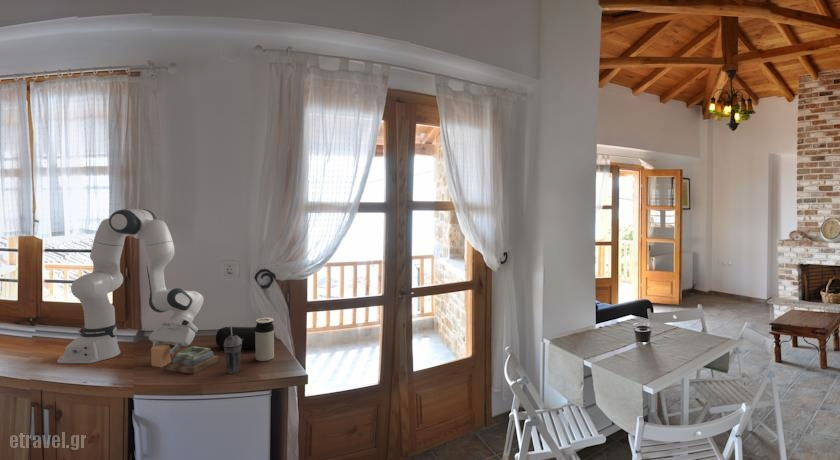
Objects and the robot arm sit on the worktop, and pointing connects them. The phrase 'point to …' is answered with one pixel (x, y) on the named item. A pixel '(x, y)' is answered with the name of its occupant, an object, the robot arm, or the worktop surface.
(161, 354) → the terracotta brick
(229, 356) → the beverage cup
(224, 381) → the worktop surface
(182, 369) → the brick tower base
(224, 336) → the portable speaker
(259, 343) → the travel mug
